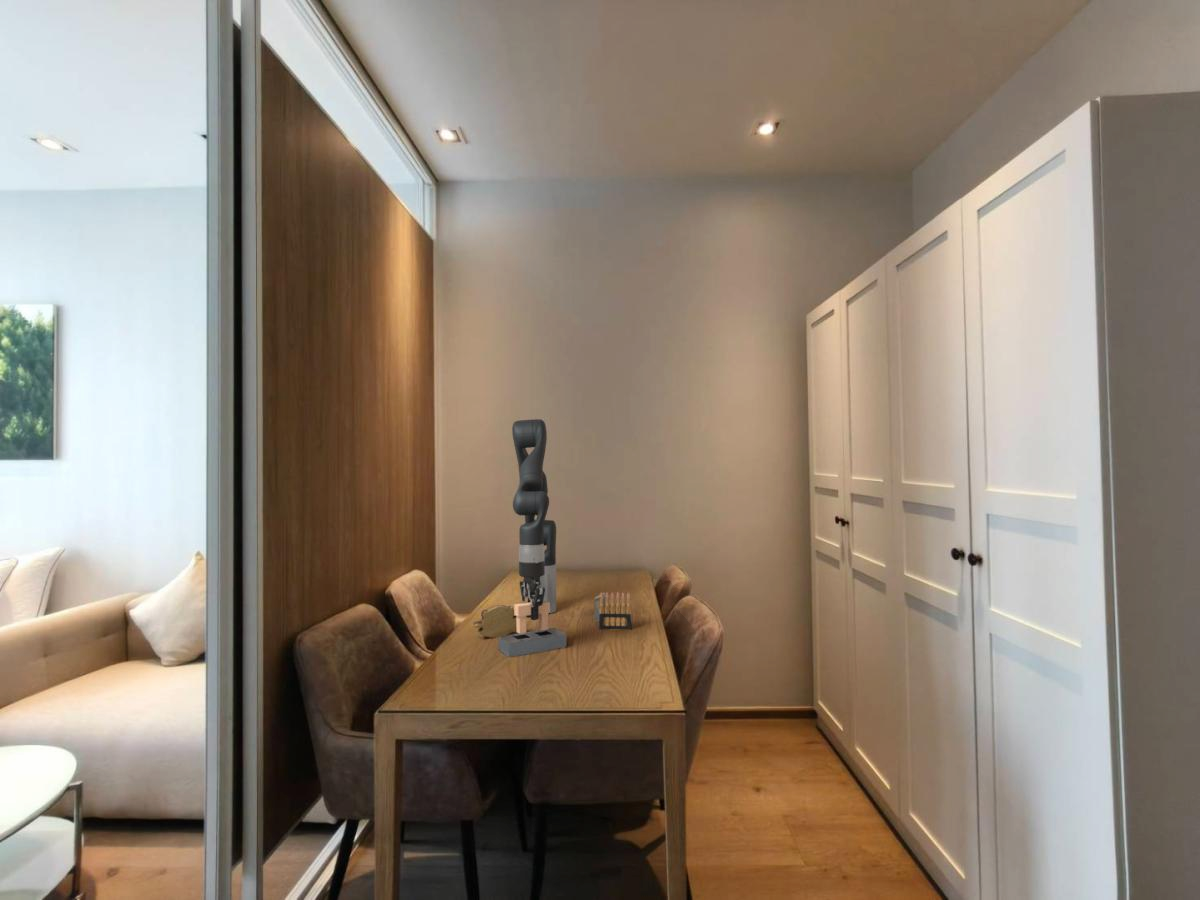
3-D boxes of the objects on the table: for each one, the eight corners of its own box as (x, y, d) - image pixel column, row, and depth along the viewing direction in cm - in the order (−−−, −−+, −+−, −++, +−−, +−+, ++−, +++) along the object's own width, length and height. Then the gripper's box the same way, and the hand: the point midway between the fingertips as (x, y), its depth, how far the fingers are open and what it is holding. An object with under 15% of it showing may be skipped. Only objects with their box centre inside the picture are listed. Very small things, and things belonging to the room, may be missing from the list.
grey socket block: (498, 650, 187) (498, 636, 187) (554, 640, 196) (554, 627, 196) (509, 657, 180) (508, 643, 180) (566, 647, 189) (566, 633, 189)
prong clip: (514, 631, 187) (514, 604, 187) (545, 627, 192) (545, 600, 192) (518, 634, 184) (518, 606, 184) (550, 629, 189) (549, 602, 189)
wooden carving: (519, 631, 207) (519, 600, 208) (525, 634, 204) (525, 602, 204) (471, 639, 199) (471, 607, 199) (477, 642, 195) (476, 609, 195)
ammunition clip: (632, 628, 209) (631, 591, 209) (631, 629, 207) (631, 592, 207) (599, 627, 210) (599, 591, 210) (598, 629, 208) (598, 592, 209)
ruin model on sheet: (603, 622, 219) (602, 593, 219) (594, 622, 219) (594, 593, 219) (609, 614, 230) (609, 587, 230) (601, 614, 230) (600, 587, 230)
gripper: (510, 557, 192) (511, 615, 192) (529, 563, 180) (530, 625, 180) (533, 555, 196) (534, 612, 196) (553, 561, 184) (554, 621, 184)
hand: (532, 618), depth 188 cm, fingers closed on prong clip, 3 cm apart
